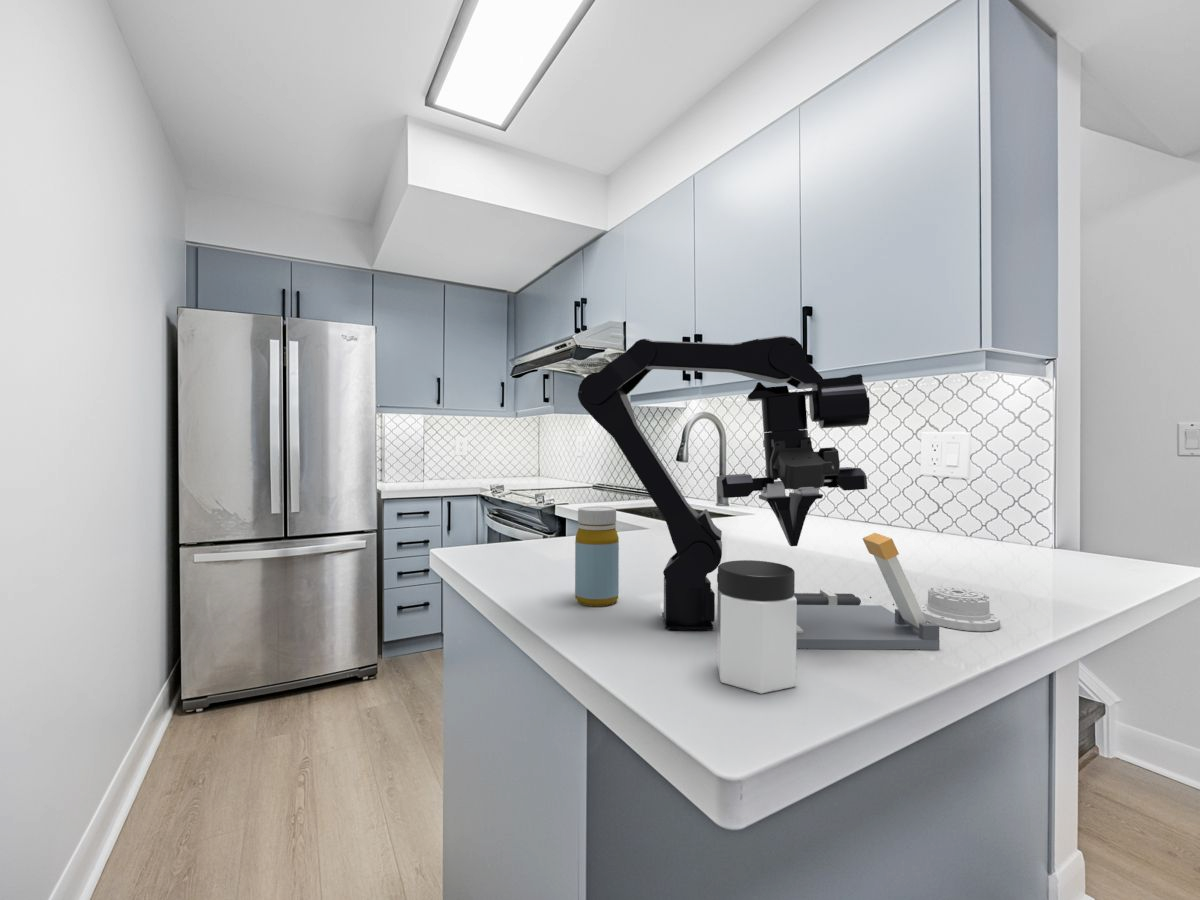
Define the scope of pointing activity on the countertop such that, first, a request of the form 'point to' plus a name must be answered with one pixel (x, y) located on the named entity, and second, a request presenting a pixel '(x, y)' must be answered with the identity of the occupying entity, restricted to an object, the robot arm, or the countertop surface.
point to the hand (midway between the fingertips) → (793, 545)
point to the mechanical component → (959, 609)
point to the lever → (895, 578)
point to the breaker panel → (860, 629)
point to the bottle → (596, 557)
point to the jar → (756, 625)
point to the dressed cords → (826, 598)
